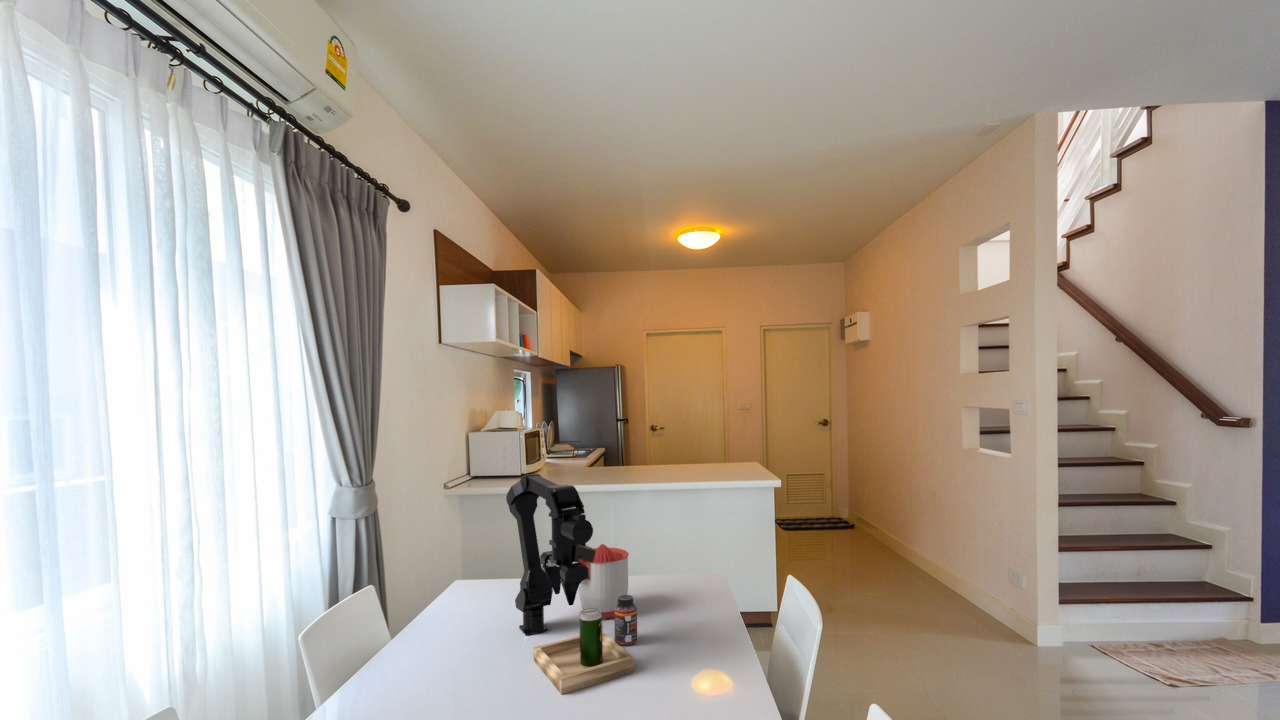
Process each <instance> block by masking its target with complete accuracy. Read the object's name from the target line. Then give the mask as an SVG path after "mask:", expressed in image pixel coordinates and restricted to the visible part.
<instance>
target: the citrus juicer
mask: <svg viewBox="0 0 1280 720" xmlns="http://www.w3.org/2000/svg"><path fill="white" fill-rule="evenodd" d="M593 549H595V550H596V554H595V557H594V561H593V563H592V562H589V561H586V560H582V559H579V562H580V563H582V564H584V565H585V566H586V567H587V568H589V577H588V578H586V579H585V580H583V581H582V582H581V583H580V584H579V587H578V590H577V592H578V596H579V601H580V604H581V608H582V610H583V609H587V608H597V609H600V610H601V614H602V619H603V620H605V619H611V618H615V615H614V610H615V606H616V605H617V604H618V597H619V596H621V595H629V594H628V593H629V560H628V559H629V558H628V557H629V555H630V554H629V552H628V551H627V550H626V549H622V548H618V547H608V546H607V545H605V544H604V543H602V544H600V545H599V546H597V547H595V548H593ZM579 562H576V563H579Z"/></svg>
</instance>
